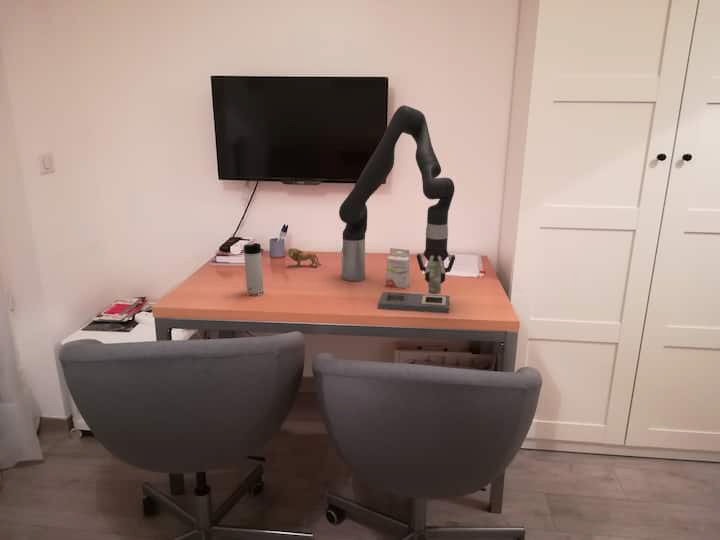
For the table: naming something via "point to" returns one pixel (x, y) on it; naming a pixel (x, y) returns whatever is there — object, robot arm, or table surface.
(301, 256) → the lion figurine
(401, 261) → the ink cartridge box
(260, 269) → the travel mug
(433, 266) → the peg
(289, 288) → the table surface
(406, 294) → the grey flat plate
